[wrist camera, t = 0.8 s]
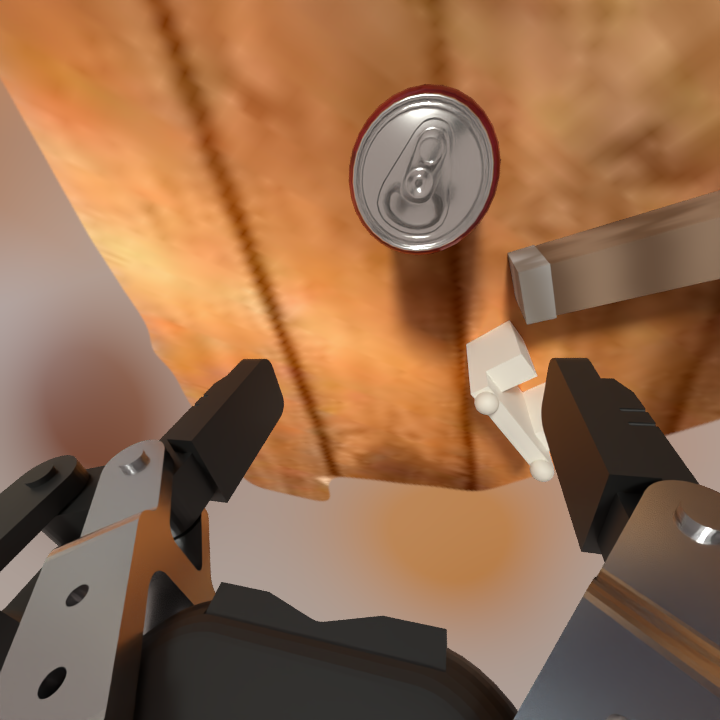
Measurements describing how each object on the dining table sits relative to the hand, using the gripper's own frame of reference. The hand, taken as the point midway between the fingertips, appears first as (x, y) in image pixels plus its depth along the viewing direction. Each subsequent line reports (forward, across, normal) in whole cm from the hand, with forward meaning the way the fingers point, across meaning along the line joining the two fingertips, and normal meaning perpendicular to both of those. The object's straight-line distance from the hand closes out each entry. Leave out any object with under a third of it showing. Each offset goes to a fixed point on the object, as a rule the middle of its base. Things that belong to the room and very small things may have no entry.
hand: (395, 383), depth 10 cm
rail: (+22, -14, +3) cm, 27 cm away
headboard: (+22, -8, +15) cm, 28 cm away
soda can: (+22, 0, -4) cm, 23 cm away
